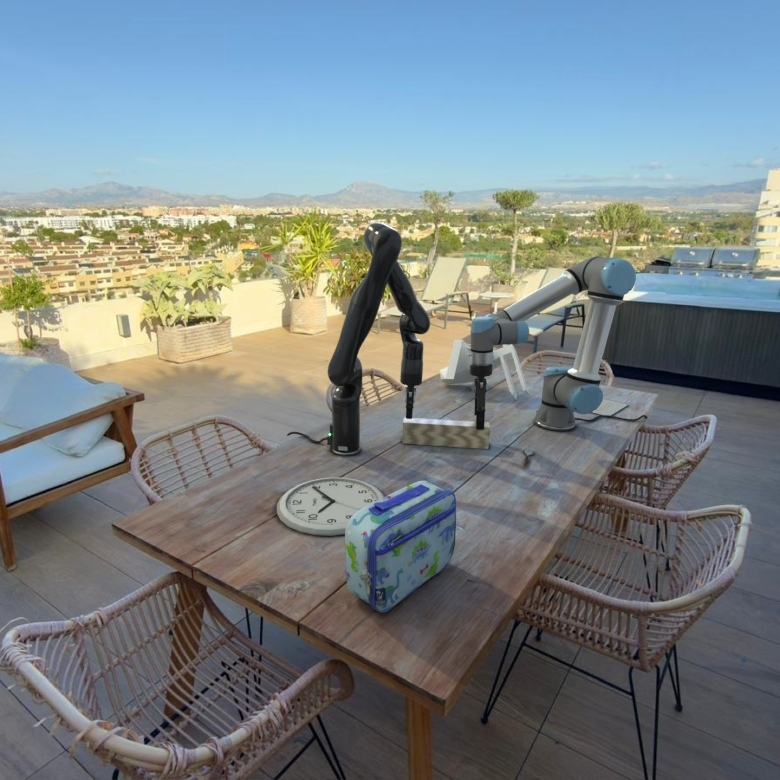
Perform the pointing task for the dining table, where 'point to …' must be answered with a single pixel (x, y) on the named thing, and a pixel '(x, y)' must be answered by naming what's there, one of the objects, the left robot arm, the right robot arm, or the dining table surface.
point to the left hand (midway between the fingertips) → (409, 414)
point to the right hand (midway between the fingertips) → (479, 422)
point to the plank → (445, 433)
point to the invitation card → (609, 407)
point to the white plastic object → (461, 363)
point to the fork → (527, 454)
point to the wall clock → (325, 504)
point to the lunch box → (399, 543)
